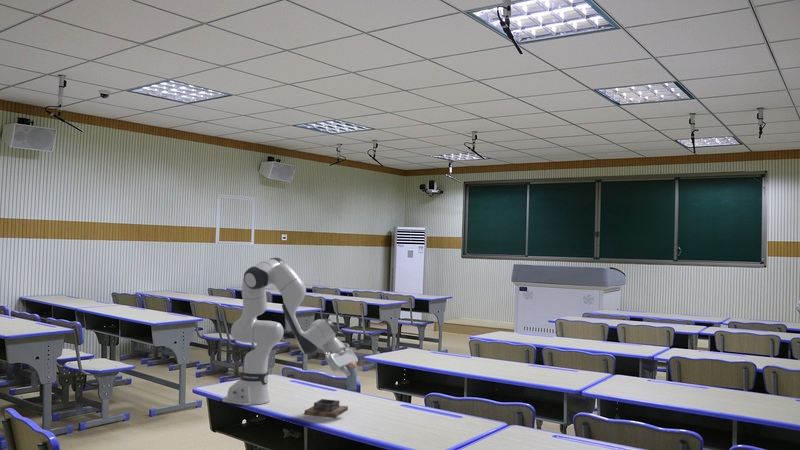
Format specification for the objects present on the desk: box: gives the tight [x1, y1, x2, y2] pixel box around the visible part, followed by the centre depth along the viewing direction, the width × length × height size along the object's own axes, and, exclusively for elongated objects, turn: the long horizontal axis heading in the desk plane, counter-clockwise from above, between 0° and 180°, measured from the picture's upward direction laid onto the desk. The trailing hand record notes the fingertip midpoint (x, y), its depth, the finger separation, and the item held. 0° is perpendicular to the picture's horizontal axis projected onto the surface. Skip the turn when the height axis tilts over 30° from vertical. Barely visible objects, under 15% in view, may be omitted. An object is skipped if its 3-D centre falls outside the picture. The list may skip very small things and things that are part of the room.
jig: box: [304, 398, 349, 419], centre depth 282 cm, size 15×15×4 cm
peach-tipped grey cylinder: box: [346, 362, 358, 391], centre depth 279 cm, size 4×4×12 cm
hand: (353, 374), depth 279 cm, fingers closed on peach-tipped grey cylinder, 4 cm apart
